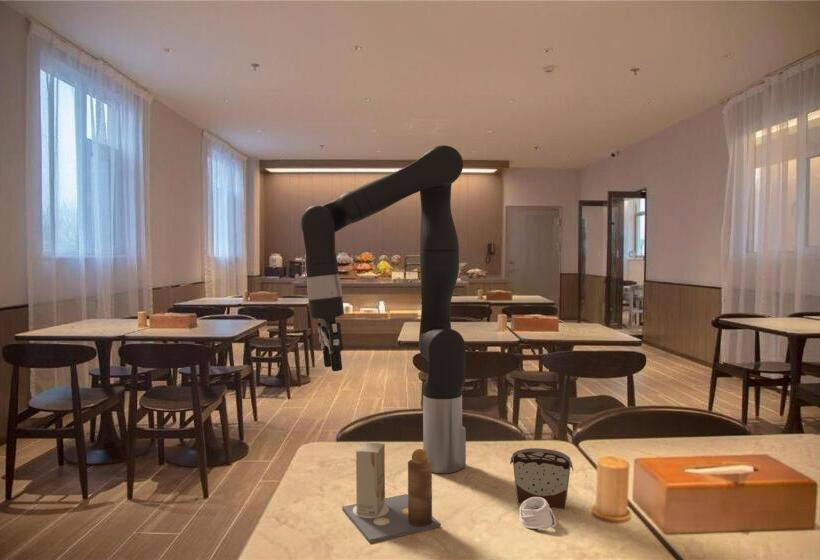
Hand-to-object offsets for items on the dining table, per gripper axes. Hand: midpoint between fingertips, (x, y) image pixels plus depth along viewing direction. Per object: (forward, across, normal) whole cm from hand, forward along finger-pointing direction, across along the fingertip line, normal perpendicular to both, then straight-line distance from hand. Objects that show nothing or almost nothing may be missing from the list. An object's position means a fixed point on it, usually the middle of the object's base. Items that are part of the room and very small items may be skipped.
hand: (333, 368), depth 128 cm
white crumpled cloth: (+30, -32, -29) cm, 53 cm away
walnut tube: (+28, -26, -8) cm, 39 cm away
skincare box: (+26, -18, -1) cm, 31 cm away
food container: (+30, -24, -35) cm, 52 cm away
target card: (+27, -21, -4) cm, 34 cm away
